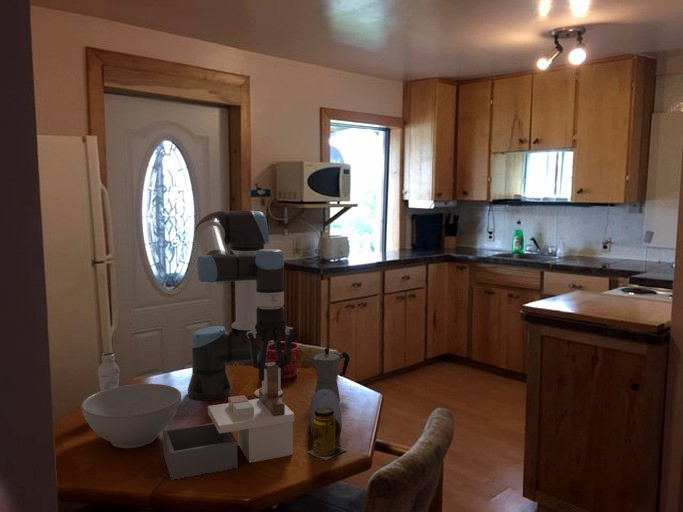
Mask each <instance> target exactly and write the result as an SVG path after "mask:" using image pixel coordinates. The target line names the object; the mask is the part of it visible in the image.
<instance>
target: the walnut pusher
mask: <svg viewBox="0 0 683 512" xmlns="http://www.w3.org/2000/svg"><path fill="white" fill-rule="evenodd" d="M265 368H266V369H267V393H264V392H263V391H262V389H260V388H258V389H259V400H260V401H261V402H262V403H263V404H264V405H265V407H266V408H267V409H268V410H269V411H270V412H271V414H272V415H273V416H279V415H285V405H286V404H285V402H284V401H283V399H282V400H281V399H280V398H279V397H278V365H277V364H276V363H275V362H271V363H267V362H265Z"/></svg>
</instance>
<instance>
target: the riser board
mask: <svg viewBox="0 0 683 512" xmlns="http://www.w3.org/2000/svg"><path fill="white" fill-rule="evenodd" d="M249 401H250V403H251V404H252V405H253V407H254V416H252V417H245V418H239V419H237V418H236V416H235V415H234V413H233V412H232V411H231V409H230V408H229V406H228V402H227V403H226V402H225V403H219V404H213V405H207V414H208V416H209V418H210V420H211V421H212V423H214V425H215V427H216V428H217V430H218V432H219V433H225V432H231V433H232V432H237V433H238V434H237V439H238V440H237V446H240V447H239V448H240V450H241V452H242V451H243V452H242V454H243V455H244V456H246V457H245V458H246V460H247V461H248V463H250V464H251V462H252V463H257V462H262V461H266V460H272V459H278V458H283V457H287V456H292V455H293V454H294V445H293V444H294V438H293V434H294V433H293V429H294V427H293V426H294V425H293V422H295V413H294V411H292V409H291V408H289V407H288V406H287V405H286V404H285V415H279V416H273V415H272V414H271V412H270V411H269V410H268V409H267V408H266V407H265V405H264V404H263V403H262V402H261V401H260V400H259V399H255V398H253V399H248V402H249Z"/></svg>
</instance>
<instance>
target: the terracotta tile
mask: <svg viewBox="0 0 683 512" xmlns="http://www.w3.org/2000/svg"><path fill="white" fill-rule="evenodd" d="M227 398H228V402H227V403H228V406H229V408H230V409H231V411H232V412H233V404H235V403H242V402H248V400H249V399H248V397H247V396H246V395H245V394H243V395H242V394H241V395H234V396H229V397H228V396H227Z"/></svg>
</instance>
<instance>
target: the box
mask: <svg viewBox="0 0 683 512" xmlns="http://www.w3.org/2000/svg"><path fill="white" fill-rule="evenodd" d="M162 435H163V441H162V442H163V457H164V460H165V464H166V467H167V471H168V474H169V477H171V478H170V480H173V481H175V480H174V479H178V480H180V479H179V478H183V479H185V478H184V477H188V478H190V477H189V476H194V477H196V476H195V475H199V476H202V475H201V474H204V475H206V474H205V473H209V474H213V473H212V472H214V473H217V472H216V471H219V472H222V471H221V470H225V471H227V470H226V469H230V470H233V469H232V468H235V469H238V463H239V461H238V440H237V439H236V437H235V436H234V435H233V433H232V431H231V432H225V433H219V432H218V430H217V428H216V427H215V425H214V423H213V422H210V423H204V424H203V423H202V424H198V425H192V426H191V425H190V426H184V427H178V428H173V429H171V428H170V429H164V430H163V431H162Z"/></svg>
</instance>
